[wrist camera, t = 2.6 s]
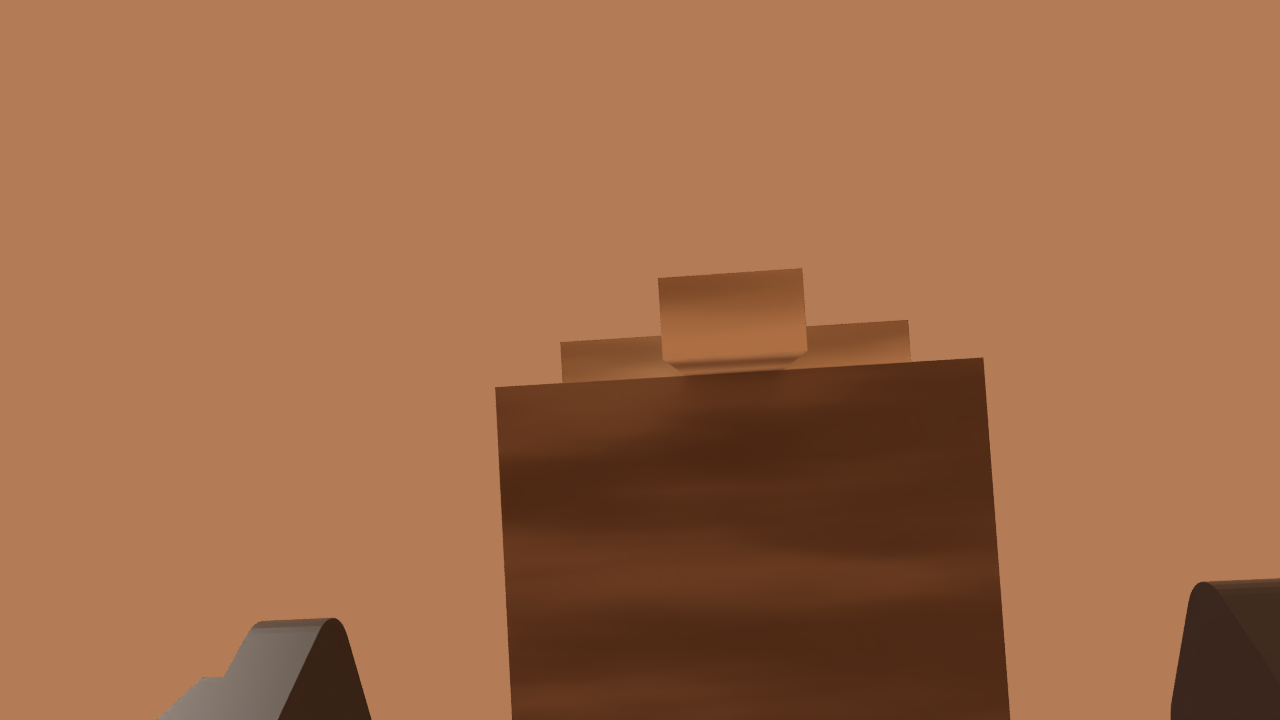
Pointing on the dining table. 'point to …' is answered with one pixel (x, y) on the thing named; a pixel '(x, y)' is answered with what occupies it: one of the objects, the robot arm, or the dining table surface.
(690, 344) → the tan stepped slab
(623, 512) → the walnut plinth
